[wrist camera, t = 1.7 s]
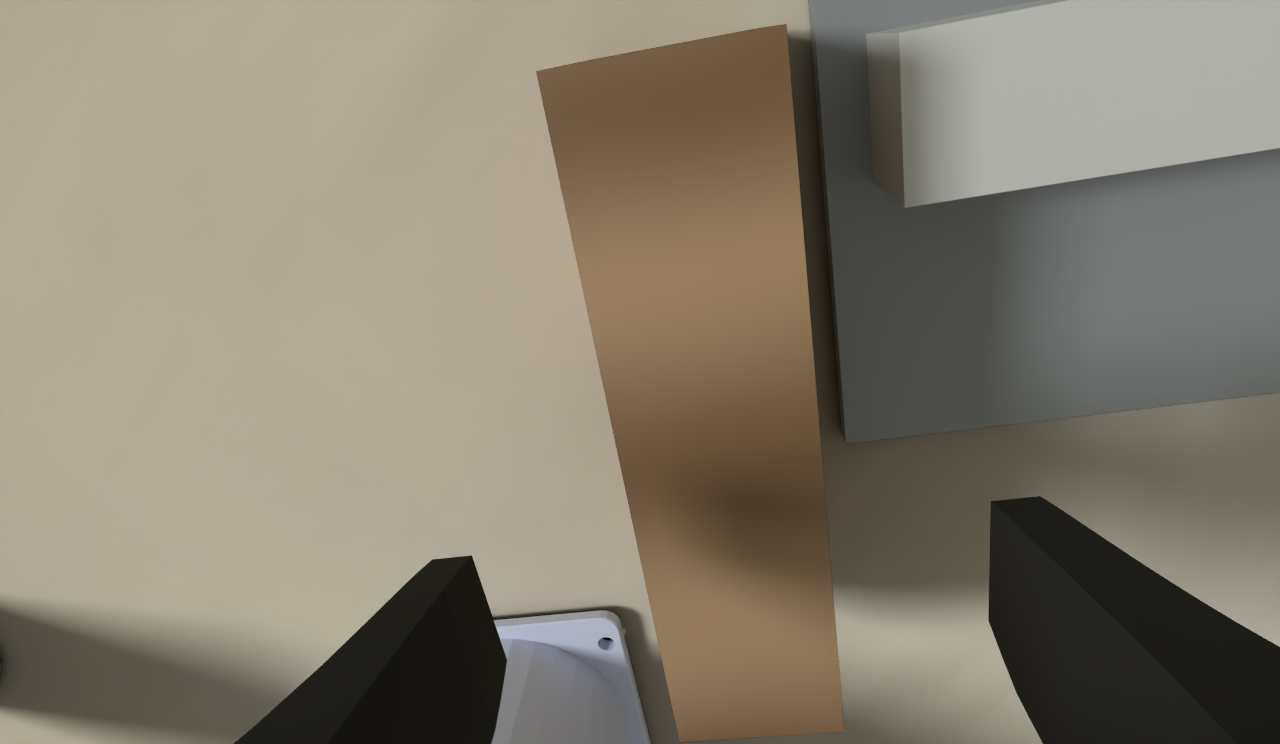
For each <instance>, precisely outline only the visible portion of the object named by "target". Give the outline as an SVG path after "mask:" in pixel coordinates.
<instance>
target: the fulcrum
mask: <svg viewBox="0 0 1280 744" xmlns="http://www.w3.org/2000/svg"><path fill="white" fill-rule="evenodd" d="M808 2H809V14H810V27H811V40H812V53H813V66H814V79H815V92H816V105H817V118H818V131H819V144H820V157H821V170H822V183H823V196H824V209H825V222H826V234H827V247H828V260H829V273H830V286H831V299H832V312H833V325H834V338H835V351H836V364H837V377H838V390H839V403H840V416H841V429H842V434H843V437H844V440H845V442H846V444H850V443H858V442H867V441H875V440H884V439H892V438H901V437H909V436H918V435H926V434H934V433H943V432H951V431H960V430H968V429H977V428H985V427H994V426H1002V425H1011V424H1019V423H1028V422H1036V421H1045V420H1053V419H1061V418H1070V417H1078V416H1087V415H1095V414H1104V413H1112V412H1121V411H1129V410H1138V409H1146V408H1155V407H1163V406H1171V405H1180V404H1188V403H1197V402H1205V401H1214V400H1222V399H1231V398H1239V397H1248V396H1256V395H1265V394H1273V393H1280V0H808Z"/></svg>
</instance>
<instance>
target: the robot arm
mask: <svg viewBox="0 0 1280 744" xmlns="http://www.w3.org/2000/svg"><path fill="white" fill-rule="evenodd" d="M989 623H990V625H991V628H992V631H993V633H994V636H995V639H996V641H997V644H998V647H999V649H1000V652H1001V655H1002V657H1003V660H1004V662H1005V665H1006V667H1007V670H1008V672H1009V675H1010V677H1011V680H1012V682H1013V685H1014V687H1015V690H1016V692H1017V695H1018V697H1019V698H1020V700H1021V702H1022V704H1023V706H1024V708H1025V710H1026V712H1027V714H1028V716H1029V718H1030V720H1031V722H1032V723H1033V725H1034V727H1035V729H1036V731H1037V733H1038V735H1039V737H1040V739H1041V741H1042V742H1043V744H1280V647H1278V646H1277V645H1275V644H1273V643H1272V642H1270V641H1268V640H1266V639H1265V638H1263V637H1261V636H1259V635H1258V634H1256V633H1254V632H1252V631H1251V630H1249V629H1247V628H1245V627H1244V626H1242V625H1240V624H1238V623H1237V622H1235V621H1233V620H1232V619H1230V618H1228V617H1227V616H1225V615H1223V614H1222V613H1220V612H1218V611H1217V610H1215V609H1213V608H1212V607H1210V606H1208V605H1207V604H1205V603H1203V602H1202V601H1200V600H1199V599H1197V598H1195V597H1194V596H1192V595H1191V594H1189V593H1187V592H1186V591H1184V590H1183V589H1181V588H1179V587H1178V586H1176V585H1175V584H1173V583H1171V582H1170V581H1168V580H1167V579H1165V578H1164V577H1162V576H1160V575H1159V574H1157V573H1156V572H1154V571H1153V570H1151V569H1150V568H1148V567H1147V566H1145V565H1143V564H1142V563H1140V562H1139V561H1137V560H1136V559H1134V558H1133V557H1131V556H1130V555H1128V554H1127V553H1125V552H1124V551H1122V550H1121V549H1119V548H1118V547H1116V546H1115V545H1113V544H1112V543H1110V542H1109V541H1107V540H1106V539H1104V538H1103V537H1101V536H1100V535H1098V534H1097V533H1095V532H1094V531H1092V530H1091V529H1089V528H1088V527H1086V526H1085V525H1083V524H1082V523H1080V522H1079V521H1077V520H1076V519H1074V518H1073V517H1071V516H1070V515H1068V514H1067V513H1065V512H1064V511H1062V510H1061V509H1059V508H1058V507H1056V506H1054V505H1053V504H1051V503H1050V502H1048V501H1047V500H1045V499H1043V498H1042V497H1040V496H1039V497H1029V498H1020V499H1010V500H1000V501H991V522H990V575H989ZM604 637H607V638H611V639H612V640H610V641H608V640H604V639H602V638H604ZM234 744H651V743H650V739H649V734H648V730H647V726H646V722H645V718H644V714H643V710H642V706H641V702H640V698H639V694H638V690H637V686H636V682H635V678H634V674H633V670H632V666H631V662H630V658H629V654H628V650H627V646H626V641H625V637H624V633H623V629H622V625H621V621H620V619H619V618H618V616H617V615H615V614H614V613H612V612H610V611H603V610H600V611H589V612H578V613H567V614H556V615H545V616H534V617H524V618H513V619H502V620H493V617H492V614H491V611H490V608H489V605H488V602H487V599H486V596H485V593H484V590H483V588H482V585H481V582H480V579H479V576H478V573H477V570H476V567H475V564H474V561H473V558H472V556H463V557H454V558H444V559H434V560H431V561H430V562H429V563H428V564H427V565H426V566H425V567H423V568H422V569H421V570H420V571H419V572H418V573H417V574H416V575H415V576H414V577H413V578H411V579H410V580H409V581H408V582H407V583H406V584H405V585H404V586H403V587H402V588H401V589H400V590H399V591H398V592H397V593H396V594H395V595H394V596H393V597H392V598H391V599H390V600H389V601H388V602H387V603H386V604H385V605H384V606H383V607H382V608H381V609H380V610H379V611H378V612H377V613H376V614H375V615H374V616H373V617H372V618H370V619H369V620H368V621H367V622H366V623H365V624H364V625H363V626H362V627H361V628H360V629H359V630H358V631H357V632H356V633H355V634H354V635H353V636H352V637H351V638H350V639H349V640H348V641H347V642H346V643H345V644H344V645H343V646H342V647H341V648H340V649H338V650H337V651H336V652H335V653H334V654H333V655H332V656H331V657H330V658H329V659H328V660H327V661H326V662H325V663H324V664H323V665H322V666H321V667H320V668H319V669H318V670H316V671H315V672H314V673H313V674H312V675H311V676H310V677H309V678H308V679H306V680H305V681H304V682H303V683H302V684H301V685H300V686H299V687H298V688H296V689H295V690H294V691H293V692H292V693H291V694H290V695H289V696H288V697H286V698H285V699H284V700H283V701H282V702H281V703H280V704H279V705H278V706H276V707H275V708H274V709H273V710H272V711H271V712H270V713H269V714H268V715H266V716H265V717H264V718H263V719H262V720H261V721H260V722H259V723H258V724H256V725H255V726H254V727H253V728H252V729H251V730H249V731H248V732H247V733H246V734H245V735H244V736H242V737H241V738H240V739H239V740H238V741H236V742H235V743H234Z"/></svg>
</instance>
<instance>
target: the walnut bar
mask: <svg viewBox="0 0 1280 744" xmlns="http://www.w3.org/2000/svg"><path fill="white" fill-rule="evenodd" d="M536 73H537V77H538V82H539V87H540V91H541V96H542V101H543V106H544V110H545V115H546V120H547V124H548V129H549V134H550V138H551V143H552V148H553V152H554V157H555V162H556V166H557V171H558V176H559V180H560V185H561V190H562V195H563V199H564V204H565V209H566V213H567V218H568V223H569V227H570V232H571V237H572V241H573V246H574V251H575V255H576V260H577V265H578V269H579V274H580V279H581V284H582V288H583V293H584V298H585V302H586V307H587V312H588V316H589V321H590V326H591V330H592V335H593V340H594V344H595V349H596V354H597V358H598V363H599V368H600V373H601V377H602V382H603V387H604V391H605V396H606V401H607V405H608V410H609V415H610V419H611V424H612V429H613V433H614V438H615V443H616V447H617V452H618V457H619V462H620V466H621V471H622V476H623V480H624V485H625V490H626V494H627V499H628V504H629V508H630V513H631V518H632V522H633V527H634V532H635V536H636V541H637V546H638V551H639V555H640V560H641V565H642V569H643V574H644V579H645V583H646V588H647V593H648V597H649V602H650V607H651V611H652V616H653V621H654V625H655V630H656V635H657V640H658V644H659V649H660V654H661V658H662V663H663V668H664V672H665V677H666V682H667V686H668V691H669V696H670V700H671V705H672V710H673V714H674V719H675V724H676V729H677V733H678V738H679V742H689V741H705V740H722V739H738V738H755V737H771V736H787V735H804V734H820V733H837V732H844V721H843V708H842V696H841V684H840V672H839V660H838V647H837V635H836V623H835V611H834V599H833V586H832V574H831V562H830V550H829V538H828V525H827V513H826V501H825V489H824V477H823V465H822V452H821V440H820V428H819V416H818V404H817V391H816V379H815V367H814V355H813V343H812V330H811V318H810V306H809V294H808V282H807V269H806V257H805V245H804V233H803V221H802V208H801V196H800V184H799V172H798V160H797V148H796V135H795V123H794V111H793V99H792V87H791V74H790V62H789V50H788V38H787V26H786V24H784V25H778V26H771V27H764V28H758V29H752V30H747V31H741V32H736V33H731V34H725V35H720V36H715V37H709V38H704V39H699V40H694V41H688V42H683V43H678V44H672V45H667V46H662V47H657V48H651V49H646V50H641V51H635V52H630V53H625V54H619V55H614V56H609V57H604V58H598V59H593V60H588V61H583V62H578V63H574V64H569V65H564V66H559V67H555V68H550V69H545V70H540V71H536Z"/></svg>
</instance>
